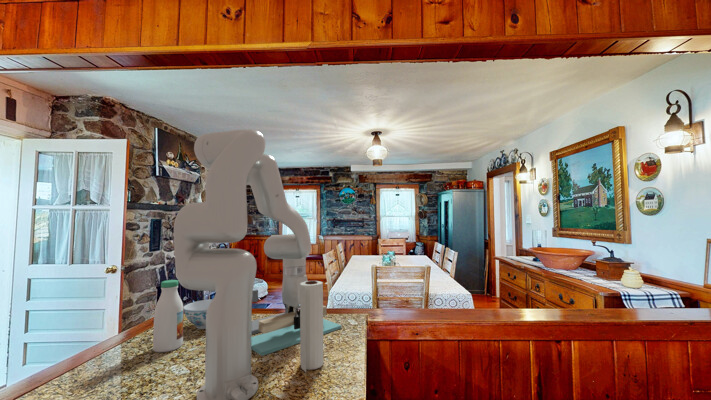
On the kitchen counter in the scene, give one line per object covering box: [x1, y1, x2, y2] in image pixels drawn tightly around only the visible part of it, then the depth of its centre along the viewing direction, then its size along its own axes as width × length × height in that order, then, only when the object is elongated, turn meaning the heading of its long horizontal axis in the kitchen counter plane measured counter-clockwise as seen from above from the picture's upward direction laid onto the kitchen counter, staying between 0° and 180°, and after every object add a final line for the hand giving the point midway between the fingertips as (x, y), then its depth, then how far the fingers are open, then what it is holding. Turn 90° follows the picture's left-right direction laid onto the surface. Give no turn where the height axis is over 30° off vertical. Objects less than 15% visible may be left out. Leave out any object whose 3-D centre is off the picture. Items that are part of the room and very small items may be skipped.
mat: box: [251, 318, 342, 357], centre depth 100 cm, size 13×30×1 cm, turn 135°
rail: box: [259, 305, 327, 334], centre depth 101 cm, size 4×24×3 cm, turn 134°
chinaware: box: [183, 298, 213, 330], centre depth 111 cm, size 15×15×8 cm
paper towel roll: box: [299, 280, 324, 373], centre depth 80 cm, size 7×6×21 cm
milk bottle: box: [152, 279, 184, 353], centre depth 93 cm, size 8×8×20 cm
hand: (294, 326), depth 100 cm, fingers closed on rail, 3 cm apart
